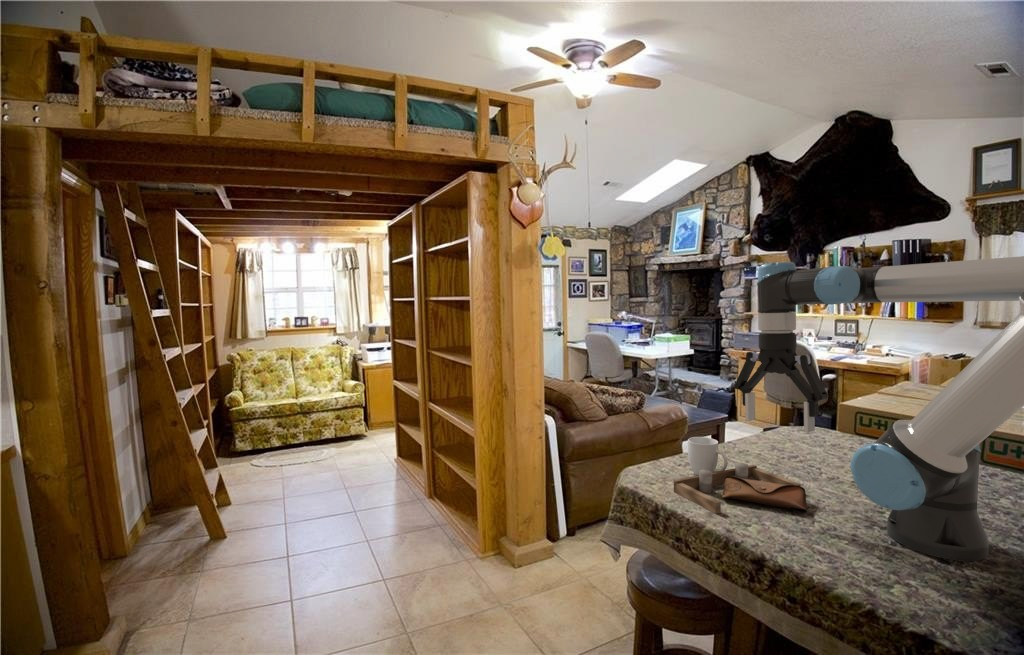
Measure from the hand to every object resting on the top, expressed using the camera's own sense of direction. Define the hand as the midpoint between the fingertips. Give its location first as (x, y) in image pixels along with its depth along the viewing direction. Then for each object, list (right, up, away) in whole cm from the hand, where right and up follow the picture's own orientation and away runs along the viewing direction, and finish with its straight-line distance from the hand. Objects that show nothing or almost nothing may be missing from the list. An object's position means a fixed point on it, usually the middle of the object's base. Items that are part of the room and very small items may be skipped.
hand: (778, 425), depth 111 cm
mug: (-6, -19, +24) cm, 31 cm away
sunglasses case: (-1, -20, +4) cm, 21 cm away
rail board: (-4, -19, +11) cm, 23 cm away
